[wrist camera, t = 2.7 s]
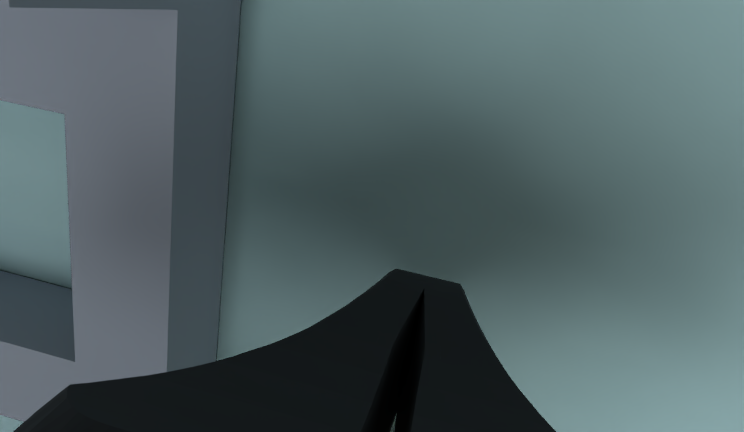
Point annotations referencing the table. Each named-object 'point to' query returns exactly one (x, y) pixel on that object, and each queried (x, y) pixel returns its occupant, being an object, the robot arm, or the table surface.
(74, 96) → the grey square frame
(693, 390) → the table surface
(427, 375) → the robot arm
